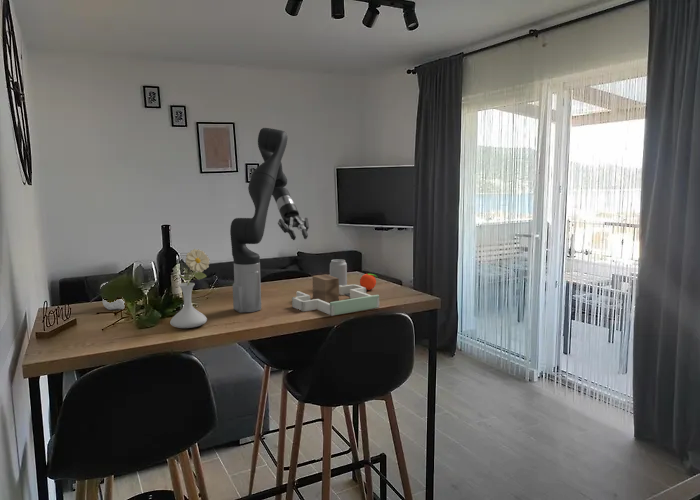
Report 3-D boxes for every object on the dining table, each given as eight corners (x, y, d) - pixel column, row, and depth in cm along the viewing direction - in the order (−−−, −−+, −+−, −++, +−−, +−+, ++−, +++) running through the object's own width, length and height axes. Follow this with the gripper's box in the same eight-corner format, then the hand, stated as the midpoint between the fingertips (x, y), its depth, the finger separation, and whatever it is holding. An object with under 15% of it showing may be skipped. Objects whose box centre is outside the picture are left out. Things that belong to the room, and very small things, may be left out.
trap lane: (317, 318, 171) (316, 305, 170) (283, 302, 193) (282, 290, 192) (391, 305, 188) (391, 293, 187) (352, 291, 210) (352, 281, 209)
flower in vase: (171, 333, 155) (167, 253, 152) (169, 323, 165) (164, 248, 162) (214, 328, 160) (211, 250, 157) (209, 319, 171) (206, 246, 167)
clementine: (378, 288, 217) (379, 272, 216) (378, 291, 210) (378, 275, 209) (360, 287, 218) (360, 271, 217) (359, 291, 211) (359, 274, 210)
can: (350, 286, 220) (350, 259, 218) (338, 289, 214) (338, 262, 213) (338, 284, 225) (338, 258, 223) (326, 287, 219) (325, 260, 218)
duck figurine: (106, 311, 189) (85, 291, 183) (121, 297, 193) (101, 276, 186) (120, 317, 181) (98, 296, 175) (135, 302, 185) (115, 281, 178)
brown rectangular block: (325, 303, 191) (325, 280, 190) (312, 298, 200) (312, 275, 199) (338, 301, 195) (338, 278, 193) (325, 296, 203) (325, 274, 202)
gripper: (274, 203, 213) (287, 233, 205) (304, 202, 221) (318, 231, 212) (269, 214, 218) (282, 245, 210) (299, 213, 226) (312, 242, 218)
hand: (300, 238), depth 211 cm, fingers open, 5 cm apart
